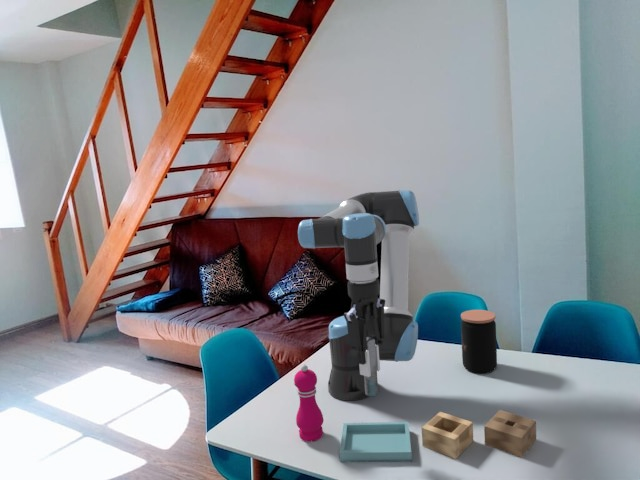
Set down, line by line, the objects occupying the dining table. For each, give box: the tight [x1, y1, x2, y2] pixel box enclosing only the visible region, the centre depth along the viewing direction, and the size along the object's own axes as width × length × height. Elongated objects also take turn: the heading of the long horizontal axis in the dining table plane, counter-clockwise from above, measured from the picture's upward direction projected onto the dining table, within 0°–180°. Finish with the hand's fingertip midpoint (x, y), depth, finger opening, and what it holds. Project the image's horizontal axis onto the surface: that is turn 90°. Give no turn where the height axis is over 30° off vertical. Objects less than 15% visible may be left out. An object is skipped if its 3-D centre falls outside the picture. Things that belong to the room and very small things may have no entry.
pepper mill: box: [293, 364, 324, 443], centre depth 130 cm, size 7×7×20 cm
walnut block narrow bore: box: [483, 409, 537, 458], centre depth 120 cm, size 9×9×5 cm
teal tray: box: [339, 421, 413, 463], centre depth 124 cm, size 17×13×2 cm
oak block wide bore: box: [421, 411, 474, 460], centre depth 122 cm, size 9×9×5 cm
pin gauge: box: [364, 337, 379, 397], centre depth 121 cm, size 3×3×14 cm
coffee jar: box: [460, 309, 498, 375], centre depth 160 cm, size 11×11×18 cm
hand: (370, 371), depth 121 cm, fingers closed on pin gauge, 3 cm apart
